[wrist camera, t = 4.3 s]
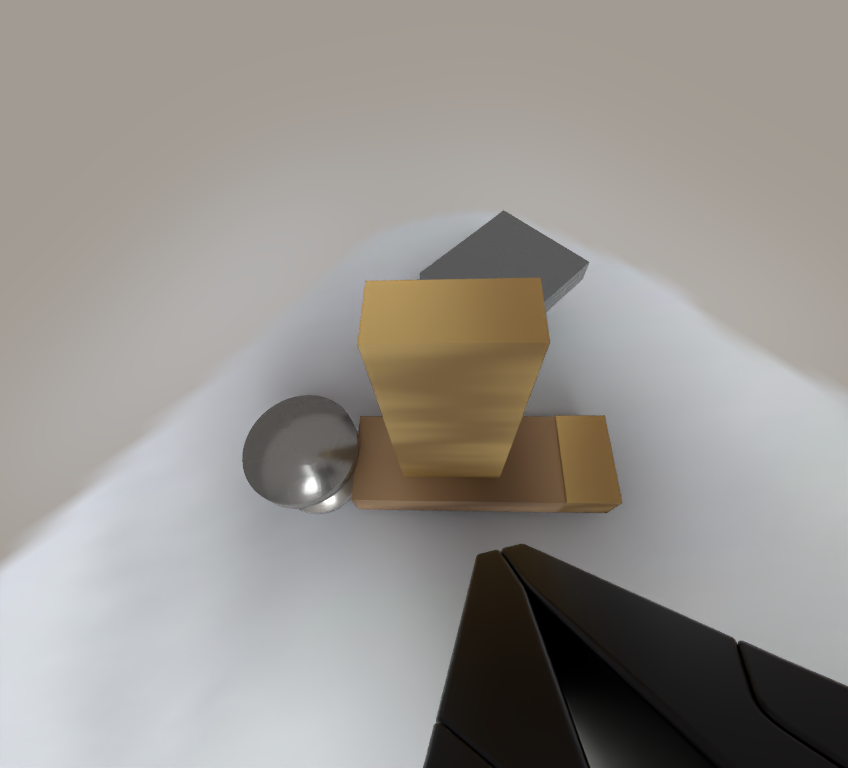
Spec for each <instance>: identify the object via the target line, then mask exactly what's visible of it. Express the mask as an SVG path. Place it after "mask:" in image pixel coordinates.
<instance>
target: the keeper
mask: <svg viewBox="0 0 848 768" xmlns="http://www.w3.org/2000/svg"><path fill="white" fill-rule="evenodd" d="M588 265H589V262H588V261H587V260H585V259H583V258H582V257H580V256H578V255H577V254H575V253H573V252H572V251H570V250H568V249H567V248H565V247H563V246H562V245H560V244H558V243H557V242H555V241H553V240H552V239H550V238H548V237H547V236H545V235H544V234H542V233H540V232H539V231H537V230H535V229H534V228H532V227H530V226H529V225H527V224H525V223H524V222H522V221H520V220H519V219H517V218H515V217H514V216H512V215H510V214H509V213H507V212H505V211H502V212H501V213H500V214H498V215H497V216H496V217H494V218H493V219H492V220H490V221H489V222H488V223H486V224H485V225H484V226H482V227H481V228H480V229H478V230H477V231H476V232H474V233H473V234H472V235H470V236H469V237H468V238H466V239H465V240H464V241H462V242H461V243H460V244H458V245H457V246H456V247H454V248H453V249H452V250H450V251H449V252H448V253H446V254H445V255H444V256H442V257H441V258H440V259H438V260H437V261H436V262H434V263H433V264H432V265H430V266H429V267H428V268H426V269H425V270H424V271H422V272H421V273H420V280H441V279H494V278H541V284H542V291H543V298H544V305H545V312H547V311H548V310H549V309H550V308H551V307H552V306H553V305H555V304H556V303H557V302H558V301H559V300H560V299H561V298H562V297H563V296H565V295H566V294H567V293H568V292H569V291H570V290H571V289H572V288H573V287H575V286H576V285H577V284H578V283H579V282H580V281H581V280H582V279H583V277H584V275H585V272H586V270H587V267H588Z"/></svg>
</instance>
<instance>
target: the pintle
mask: <svg viewBox="0 0 848 768" xmlns="http://www.w3.org/2000/svg"><path fill="white" fill-rule="evenodd" d="M359 448H360V445H359V437H358V433H357V431H356V428H355V426H354V424H353V422H352V420H351V418H350V417H349V415H348V414H347V413H346V411H345V410H344V409H343V408H342V407H341V406H339V405H338V404H336V403H335V402H333V401H331V400H329V399H326V398H323V397H319V396H309V395H308V396H298V397H294V398H290V399H287V400H285V401H282V402H280V403H278V404H276V405H275V406H273V407H272V408H270V409H269V410H268V411H266V412H265V413H264V414H263V415H262V416H261V417H260V418H259V419H258V420H257V422H256V423H255V424H254V425H253V427H252V429H251V430H250V432H249V434H248V436H247V439H246V441H245V445H244V449H243V460H242V461H243V469H244V473H245V476H246V478H247V480H248V482H249V484H250V485H251V487H252V488H253V489H254V490H255V491H256V492H257V493H258V494H260V495H261V496H262V497H264V498H266V499H267V500H269V501H271V502H272V503H274V504H276V505H279V506H282V507H286V508H298V509H300V510H302V511H304V512H307V513H313V514H322V513H328V512H331V511H334V510H336V509H338V508H340V507H341V506H343V505H344V504H345V503H347V502H348V501H349V500H350V499H351V498H352V489H353V479H354V470H355V467H356V465H357V461H358V457H359Z"/></svg>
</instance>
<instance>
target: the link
mask: <svg viewBox="0 0 848 768" xmlns="http://www.w3.org/2000/svg"><path fill="white" fill-rule="evenodd" d="M549 344H550V339H549V332H548V325H547V318H546V312H545V305H544V298H543V291H542V284H541V278H494V279H441V280H388V281H365V288H364V296H363V304H362V312H361V320H360V328H359V336H358V347H359V350H360V353H361V356H362V359H363V362H364V364H365V367H366V370H367V373H368V376H369V379H370V382H371V385H372V387H373V390H374V393H375V396H376V399H377V402H378V405H379V407H380V410H381V413H382V416H360V424H359V434H358V437H359V445H360V448H359V457H358V461H357V465H356V467H355V470H354V479H353V489H352V498H351V500H352V501H353V503H354V504H355V505H356V506H357V507H358V508H359V509H380V510H446V511H511V512H576V513H607V512H609V511H610V510H612V509H614V508H615V507H617V506H618V505H620V504H622V499H621V494H620V489H619V484H618V479H617V474H616V469H615V464H614V459H613V454H612V449H611V444H610V439H609V434H608V429H607V424H606V419H605V416H555V417H522V416H523V414H524V411H525V408H526V406H527V403H528V400H529V397H530V395H531V392H532V389H533V387H534V384H535V381H536V379H537V376H538V373H539V371H540V368H541V365H542V363H543V360H544V357H545V354H546V352H547V349H548V346H549Z"/></svg>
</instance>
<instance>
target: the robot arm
mask: <svg viewBox="0 0 848 768" xmlns="http://www.w3.org/2000/svg"><path fill="white" fill-rule="evenodd" d="M423 768H848V686H846V685H844V684H841V683H839V682H837V681H834V680H832V679H830V678H827V677H825V676H823V675H820V674H818V673H816V672H813V671H811V670H809V669H806V668H804V667H801V666H799V665H797V664H794V663H792V662H790V661H787V660H785V659H783V658H780V657H778V656H776V655H774V654H771V653H769V652H767V651H765V650H762V649H760V648H758V647H756V646H753V645H751V644H749V643H747V642H744V641H739V642H738V645H737V642H736V640H735V639H734V638H733V637H731V636H728V635H726V634H724V633H722V632H719V631H717V630H715V629H713V628H711V627H708V626H706V625H704V624H702V623H699V622H697V621H695V620H693V619H690V618H688V617H686V616H684V615H681V614H679V613H677V612H675V611H673V610H670V609H668V608H666V607H664V606H661V605H659V604H657V603H655V602H652V601H650V600H648V599H646V598H644V597H641V596H639V595H637V594H635V593H632V592H630V591H628V590H626V589H623V588H621V587H619V586H617V585H615V584H612V583H610V582H608V581H606V580H603V579H601V578H599V577H597V576H594V575H592V574H590V573H588V572H585V571H583V570H581V569H579V568H577V567H574V566H572V565H570V564H568V563H565V562H563V561H561V560H559V559H556V558H554V557H552V556H550V555H548V554H545V553H543V552H541V551H539V550H536V549H534V548H532V547H530V546H527V545H525V544H518V545H514V546H510V547H506V548H503V549H502V550H501V552H500V551H498V550H494V551H490V552H486V553H482V554H478V555H477V557H476V560H475V564H474V568H473V572H472V576H471V580H470V584H469V588H468V592H467V596H466V600H465V604H464V608H463V612H462V616H461V620H460V625H459V629H458V633H457V637H456V641H455V645H454V649H453V653H452V657H451V661H450V665H449V669H448V673H447V677H446V681H445V685H444V689H443V693H442V697H441V701H440V705H439V710H438V714H437V718H436V724H435V725H434V727H433V730H432V734H431V738H430V743H429V747H428V751H427V755H426V758H425V762H424V766H423Z"/></svg>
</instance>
